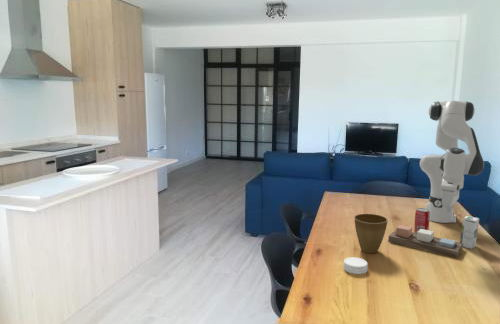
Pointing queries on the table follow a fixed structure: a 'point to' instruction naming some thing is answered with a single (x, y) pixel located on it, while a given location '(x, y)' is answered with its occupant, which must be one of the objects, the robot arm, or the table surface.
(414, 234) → the key panel
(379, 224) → the plant pot
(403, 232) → the terracotta key
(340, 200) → the table surface
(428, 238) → the white key
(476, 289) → the table surface
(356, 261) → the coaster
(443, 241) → the blue-grey key
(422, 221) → the soda can
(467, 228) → the syrup box
